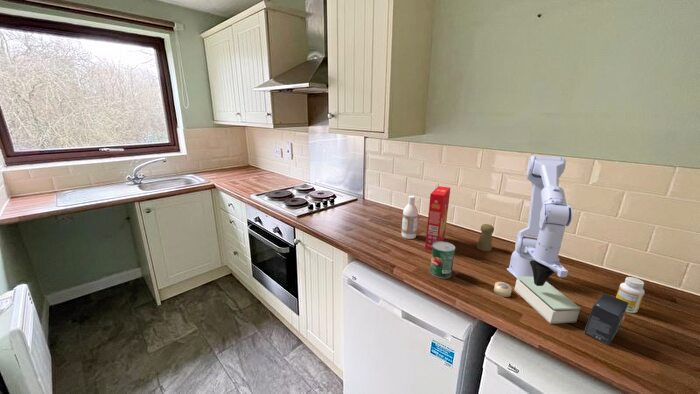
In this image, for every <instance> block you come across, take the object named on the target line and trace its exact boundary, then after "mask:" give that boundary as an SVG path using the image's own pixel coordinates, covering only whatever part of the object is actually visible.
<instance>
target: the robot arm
mask: <svg viewBox="0 0 700 394" xmlns="http://www.w3.org/2000/svg"><path fill="white" fill-rule="evenodd" d="M566 161H567V160H566V159H565V158H564V156H545V155H544V156H543V155H535V154H532V155H531V156H530V157H529V158H528V162H527V170H526V180H528V181H529V182H531V194H530V202H529V210H528V211H529V212H528V219H527V227H525V228H523V229H520V230H519V231H518V232H517V235H516V238H515V246H514V247H515V248H514V250H513V252H512V253H511V256H510V261H509V266H508V267H507V268H506V271H508V272H509V273H510V274H511V275H513V276H514V277H515V278H516V280H517V279H519V278H518V276H527V277H534V284H535V285H537V286H543V285H544V284H545V282H548V281H547V280H548V279H549V278H550V277H551V276H552V275H553V274H554V273H556V274H557V276H558V277H559V278H567V277H568V273H569V270H568V269H567V268H565V267H564V266H563V265H562V263H561V262H560V259H561V258H560V257H559V254H560V250H561V246H562V242H563V239H564V238H563V237H564V234H565V232H566V231H565V230H566V227H569V226H570V224H571V223H572V219H573V208H572V206H571V205H570V204H569V203H567V201H566V195H565V189H564V188H563V187H561V186H560V184H559V181H560V180H559V179H560V177H561V176H562V175H563V173H564V172H565V169H566Z"/></svg>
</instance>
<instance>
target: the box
mask: <svg viewBox="0 0 700 394" xmlns="http://www.w3.org/2000/svg"><path fill="white" fill-rule="evenodd" d="M627 306H628V302H626V301H623V300H621V299H618V298H616V296H612V295H610V294H608V293H605V292H603V293H602V294H601V296H600V297H599V298H598V299H596V301H595V303H594V304H593V305H592V307H591V310H590V314H589V317H588V320H587V322H586V326H585V328H584V331H583V334H585V335H587V336H589V337H591V338H593V339H595V340H598V341H599V342H600V343H603V344H605V345H607V346H610V344H611V343H612V341H613V339H614V338H615V336H616V334H617V333H618V332H619V329H620V327H621V324H622V321H623V319H624V317H625V314H626V309H627Z"/></svg>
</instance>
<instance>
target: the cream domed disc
mask: <svg viewBox="0 0 700 394" xmlns="http://www.w3.org/2000/svg"><path fill="white" fill-rule="evenodd" d="M512 290H513V287H512V286H511V285H510V284H508V283H507V282H503V281H496V282H495V283H494V288H493V291H494V293H495V294H496V295H498V296H500V297H503V298H509V297H510V296H512V295H511V294H512Z"/></svg>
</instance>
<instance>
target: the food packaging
mask: <svg viewBox="0 0 700 394" xmlns="http://www.w3.org/2000/svg"><path fill="white" fill-rule="evenodd" d="M450 194H451V187H447V186H440V185H438V186H437V187H436V188H435V189H434V190H433V191H432V192H431V193H430V196H429V205H428V216H427V225H426V235H425V243H424V244H425V246H424V249H426V250H431V251H432V247H433V243H434V242H438V241H443V242H444V240H445V237H446V229H447V228H446V227H447V220H448V211H449V202H450Z"/></svg>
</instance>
